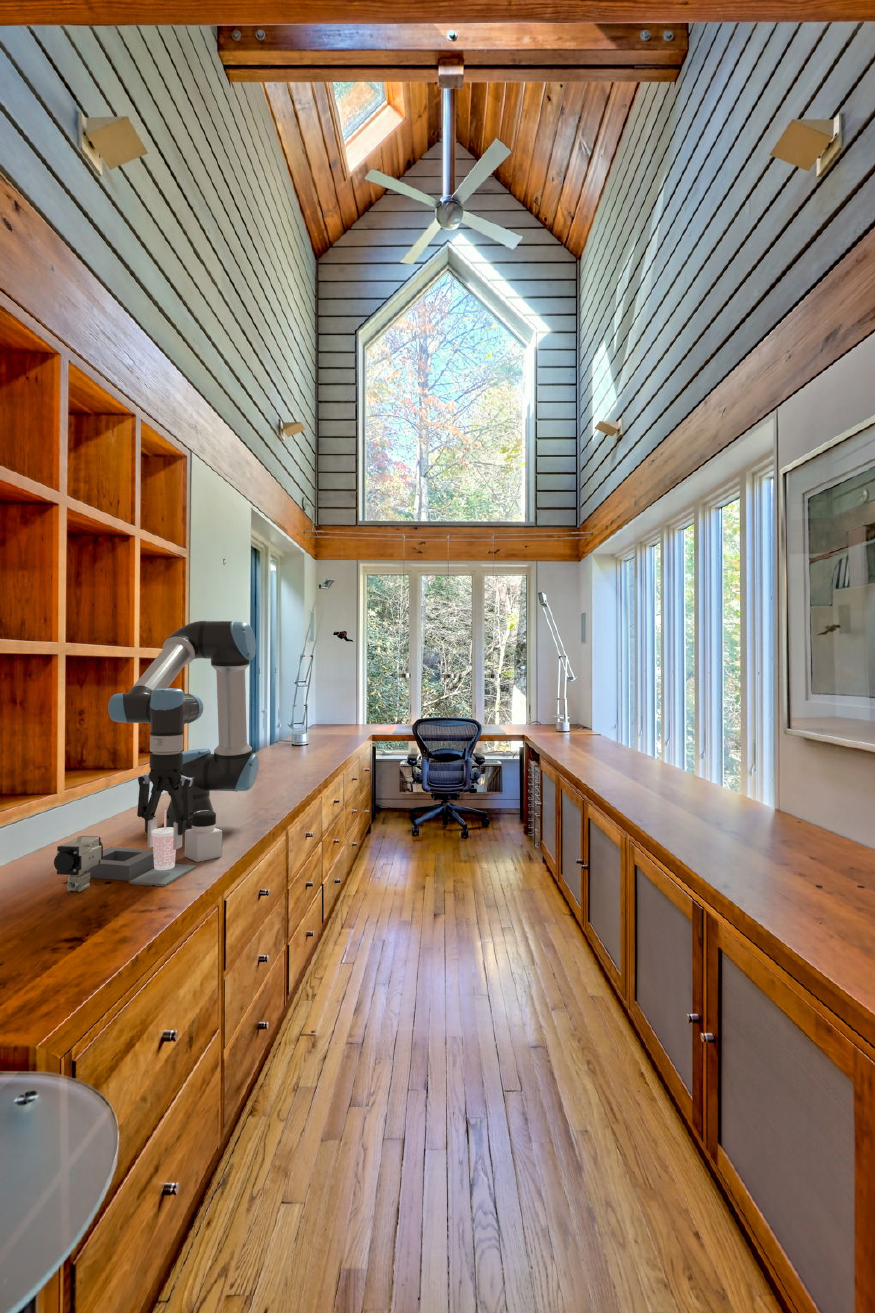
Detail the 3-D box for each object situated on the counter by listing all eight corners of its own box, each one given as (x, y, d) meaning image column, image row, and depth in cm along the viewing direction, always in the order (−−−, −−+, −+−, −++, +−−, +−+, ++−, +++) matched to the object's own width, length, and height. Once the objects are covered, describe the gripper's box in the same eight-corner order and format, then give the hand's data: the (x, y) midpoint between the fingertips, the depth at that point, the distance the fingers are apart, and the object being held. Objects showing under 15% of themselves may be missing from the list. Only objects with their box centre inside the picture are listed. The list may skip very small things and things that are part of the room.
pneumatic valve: (52, 898, 146) (53, 843, 146) (84, 880, 158) (85, 829, 158) (76, 899, 145) (77, 844, 146) (106, 881, 157) (107, 830, 157)
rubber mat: (163, 865, 170) (163, 863, 170) (196, 867, 168) (196, 865, 168) (129, 883, 156) (129, 881, 156) (165, 886, 154) (165, 884, 154)
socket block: (110, 860, 173) (110, 846, 173) (160, 864, 171) (160, 850, 171) (75, 876, 160) (76, 861, 160) (128, 880, 158) (129, 865, 158)
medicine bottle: (222, 857, 178) (223, 812, 178) (197, 862, 172) (197, 816, 172) (209, 851, 182) (209, 807, 183) (184, 856, 177) (184, 811, 177)
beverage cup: (150, 872, 158) (151, 813, 158) (150, 865, 164) (151, 808, 164) (178, 869, 160) (179, 811, 160) (177, 862, 166) (178, 806, 166)
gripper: (121, 752, 160) (119, 849, 160) (194, 756, 157) (193, 854, 157) (139, 748, 167) (138, 840, 167) (210, 751, 164) (209, 845, 164)
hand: (164, 847), depth 162 cm, fingers closed on beverage cup, 6 cm apart
